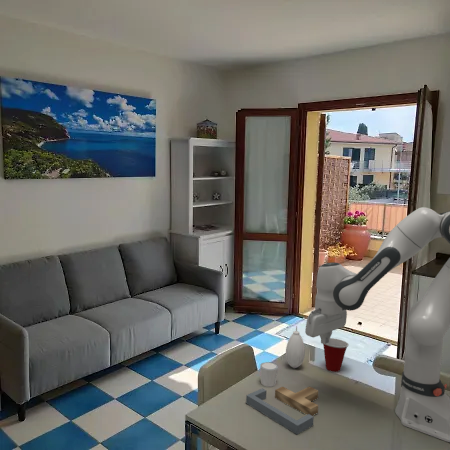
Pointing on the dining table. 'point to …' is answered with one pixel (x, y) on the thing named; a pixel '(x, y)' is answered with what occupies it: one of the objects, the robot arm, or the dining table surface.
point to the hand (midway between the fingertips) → (325, 343)
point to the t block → (299, 399)
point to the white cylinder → (268, 374)
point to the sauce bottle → (295, 350)
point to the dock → (278, 413)
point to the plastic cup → (334, 354)
